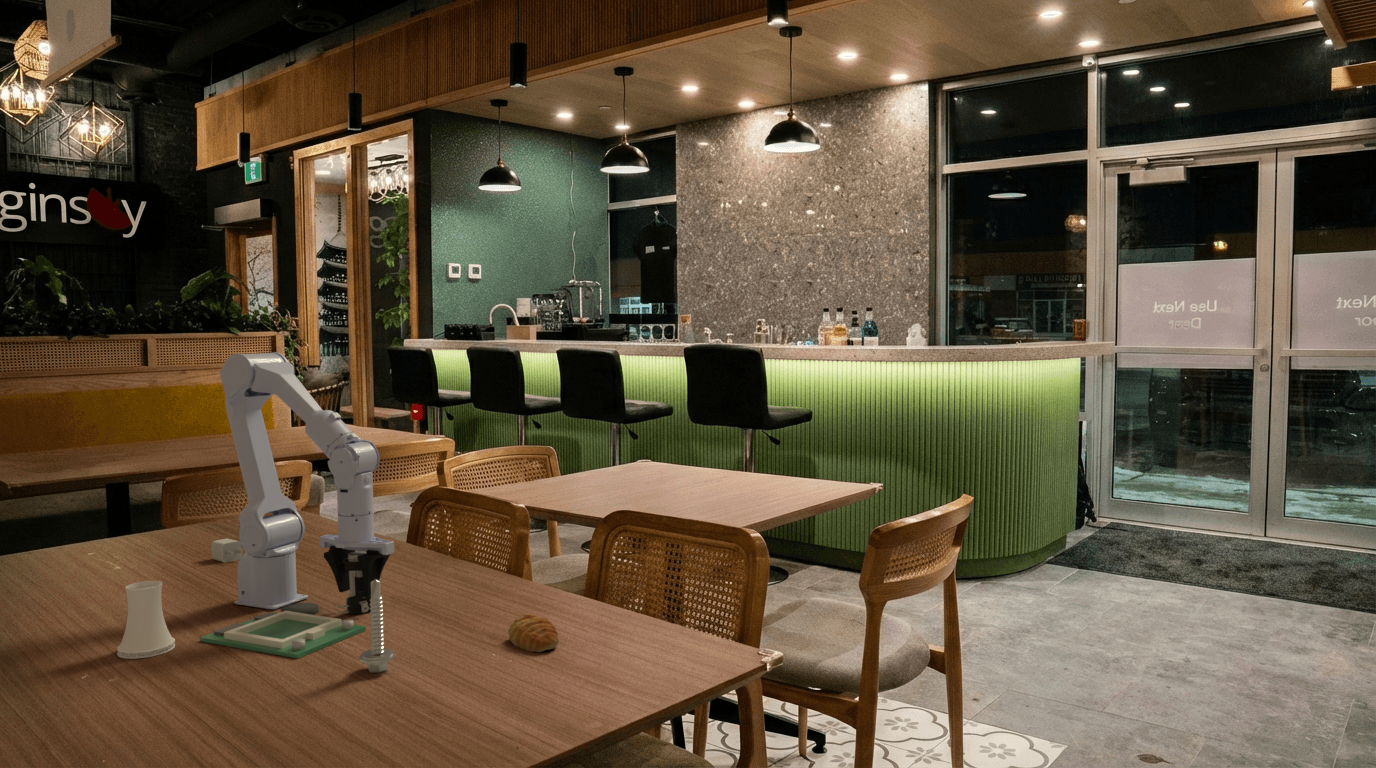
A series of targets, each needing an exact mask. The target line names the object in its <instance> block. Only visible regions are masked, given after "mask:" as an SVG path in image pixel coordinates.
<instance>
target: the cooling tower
mask: <svg viewBox="0 0 1376 768" xmlns="http://www.w3.org/2000/svg"><path fill="white" fill-rule="evenodd" d="M163 584H164V583H163V581H160V580H145V581H144V580H143V581H138V582H133V583H130V584H128V585H126V586H125V593H126V599H127V617H126V618H127V620H126V625H125V629H124V634H123V638H122V639H121V641H120V644H118V646H117V647H116V651H117V653H116V654H117V657H118V658H121V659H128V660H131V659H132V660H134V659H143V658H144V659H145V658H151V657H155V656H160V655H164V654H165V653H169V652H170V651H173V649H175V647H176V644H175V642H176V639H175V638H174V637H172V635H171V633H170V631H169V628H168V626H167V623H166V620H165V618H164V617H165V616H164V613H163V606H162V605H163V604H162V589H163Z"/></svg>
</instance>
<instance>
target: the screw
mask: <svg viewBox="0 0 1376 768" xmlns="http://www.w3.org/2000/svg"><path fill="white" fill-rule="evenodd" d="M381 587H382V586H381V581H380V579H379V580H377V579H375V580H373V581H372V582H371V599H370V601H371V603H370V604H369V605H371V608H369V609H371V611H369V614H370V616H369V618H370V620H369V622H370V624H369V626H370V628H369V630H370V631H371V632H370V633H369V634H370V635H371V636H370V637H369V638H370V640H369V642H370V643H371V644H370V645H369V646H370V647H371V649H367V650H365V651H364V652H362V653H361V654H360V655H359V656H358V657H359V661H360V662H361V663H365V664H366V665H367V670H368V672H369V673H373V674H375V673H376V674H377V673H382V672H385V671H388V667H389V666H388V663H389V661H391V660H393V659H395V658H396V652H395V651H394V650H393V649H391V648H387V647H385V645H384V644H385V641H384V640H385V637H384V634H385V633H384V627H385V626H384V622H385V621H384V620H383V619H384V616H383V615H384V612H383V611H384V608H383V606H384V604H383V602H384V601H383V595H382V594H381V593H382V589H381Z"/></svg>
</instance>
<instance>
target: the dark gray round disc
mask: <svg viewBox="0 0 1376 768" xmlns="http://www.w3.org/2000/svg"><path fill="white" fill-rule="evenodd" d="M283 611H291V612H298V613H304V614H311V615H318V613H319V612H320V605H319V604H317V603H315V602H300V603H292V604H289V605H286V606H283V607H281V609H280V612H283Z"/></svg>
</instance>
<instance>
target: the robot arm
mask: <svg viewBox="0 0 1376 768" xmlns="http://www.w3.org/2000/svg"><path fill="white" fill-rule="evenodd" d="M222 365H223V366H222V367H221V369H220V370H219V375H220V379H221V383H222V387H223V391H224V405H225V410H226V415H227V418H228V419H227V420H228V424H229V427H230V430H231V435H232V438H233V443H234V449H235V452H236V455H237V459H238V464H239V469H240V472H241V477H242V481H243V485H244V488H245V493H246V497H247V501H248V503H247V504H246V505H245V506H244V508H243V509H242V510H241V511H240V513H239V514H238V520H239V526H240V527H239V533H238V536H239V542H240V543H241V548H243V549H244V550H243V551H245V553H243V554H242V555H241V558H240V559H239V562H238V564H237V570H236V571H237V594H238V599H237V600H235V601H233V602H234V604H235V605H240V606H248V607H254V608H260V609H267V610H277V609H280V608H283V607H285V606H288V605H292V604H295V603H297V602H300V601H303V600H305V599H308V598H309V595H307V594H301V593H297V592H298V591H297V590H298V589H297V560H296V559H297V557H296V550H297V549H299V543H300V542H302V540H303V539H304V537H305V531H306V525H305V523H304V522H305V521H304V519H303V518H302V516H301V515H300V513H299V512H298V510H297V506H296V502H295V501H294V500H292V499H290V498H289V497H287V496H285V495H284V494H283V493H282V489H281V485H280V481H279V477H278V472H277V469H276V465H275V461H274V455H273V453H272V449H271V448H272V447H271V444H270V441H269V440H270V439H269V436H268V432H267V428H266V423H265V420H264V415H263V412H262V408H263V407H264V405H265V403H266V402H267V401H268V400H269V399H271V398H272V396H273V395H275V396H276V397H278V399H279V400H281V401H282V402H283V403H285V405H286V406H287V407H288V408H289V409H291V411H293V412H294V413H295V414H296V416H298V417H299V418H300V419H301V420H303V422H305V426H304V427H305V428H304V429H305V434H306V435H307V436H308V438H309V439H310V440H311V441H312V442H313V443H314V444H315V445H316V446H317V447H318V448H319V450H320V451H321V452H323V454H324V455H325V456H326V457H327V458H328V459H329V460H327V465H328V468H329V471H330V473H331V474H332V476H333V478H334V479H333V480H334V485H335V488H336V494H337V495H336V496H337V497H336V498H337V499H336V502H337V505H336V506H337V532H338V533H337V534H324V535H321V536H319V548H322V549H326V548H329V549H328V551H325V552H324V553H323V558H324V560H325V561H326V562H327V564H328V565H329V567H330V569H331V571H332V573H333V575H334V576H333V577H334V579H335V582H336V585H337V588H338V589H337V590H338V592H339V593H345V592H347V591H350V581H349V571H347V570H346V569H345V564H344V563H343V560H344V559H346V558H348V554H349V553H351V552H356V551H365V552H367V554H363V555H360V556H357V559H358V561H359V563H360V566H361V570H362V574H363V585H364V593H365V596H370V595H371V582H372V581H373V580H375V579H377V580H379V581H380V579H381V576H382V573H383V570H384V567H385V565H386V564H387V561H388V559H389V558H390V556H391V554H394V553H395V541H394V540H389V539H383V538H380V537H378V536H375V526H374V525H375V523H374V522H375V521H374V516H375V515H374V481H373V480H374V479H373V477H374V476H373V472H375V471H376V470H377V468H378V467H379V464H380V460H381V459H380V453H379V451H378V448H377V446H375V444H374V442H373V441H371V440H369V439H362V438H361V437H360V436H358V435H357V433H355V432H353V431H352V430H351V428H349V426H347V424H346V423H345V422H344V421H343V420H342V419H341V418H342V416H341V414H339V413H338V412H337V411H336V412H335V411H334V410H330V409H324V410H323V409H322V408H321V406H320V405H319V403H318V402H317V401H316V400H315V398H314V397H313V396H312V394H310V392H309V391H308V390H307V389H306V388H305V387H306V386H304V385H303V383H302V382H301V381H300V379H299V378H298V377H297V376H296V375H295V367H294V364H292V363H291V362H290V361H288V359H287V357H286V356H285V355H284V354H282V353H280V352H278V351H277V352H276V351H273V352H269V353H267V352H265V353H264V352H263V353H241V352H237V353H232V354H230V356H228V357H227V359H226V360H225V361H224V364H222ZM265 514H269V515H265Z"/></svg>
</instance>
